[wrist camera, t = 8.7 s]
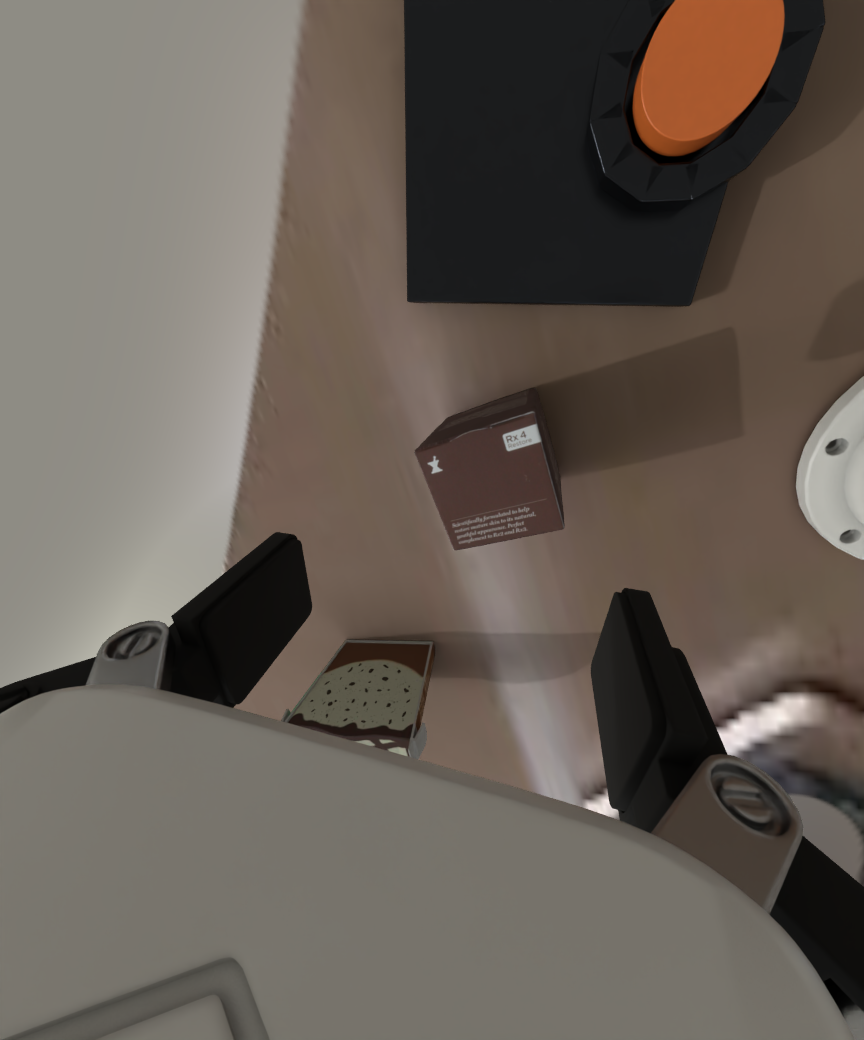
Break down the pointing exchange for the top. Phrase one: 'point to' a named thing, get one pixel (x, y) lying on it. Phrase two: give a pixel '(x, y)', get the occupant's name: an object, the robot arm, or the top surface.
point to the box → (494, 472)
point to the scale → (563, 154)
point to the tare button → (704, 70)
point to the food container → (371, 695)
